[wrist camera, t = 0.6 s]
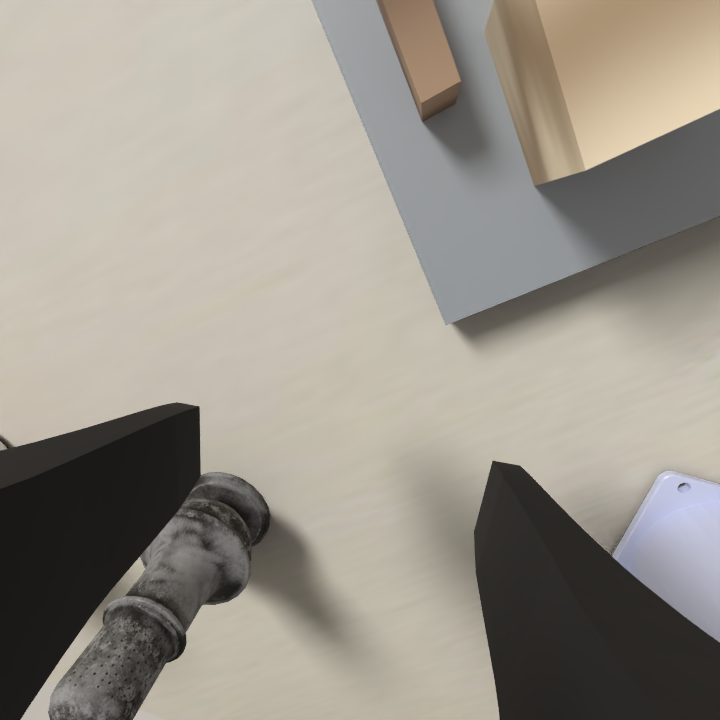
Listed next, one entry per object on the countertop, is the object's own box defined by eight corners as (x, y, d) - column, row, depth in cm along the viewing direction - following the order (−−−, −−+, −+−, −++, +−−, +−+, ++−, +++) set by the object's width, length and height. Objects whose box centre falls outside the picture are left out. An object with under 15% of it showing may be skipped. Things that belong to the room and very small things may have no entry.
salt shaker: (181, 455, 23) (-52, 680, 12) (282, 485, 23) (140, 748, 11) (174, 535, 25) (-31, 793, 14) (266, 564, 25) (132, 854, 13)
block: (694, 111, 13) (843, 51, 8) (534, 186, 14) (585, 170, 10) (653, -66, 12) (800, -250, 7) (483, 33, 13) (514, -68, 9)
